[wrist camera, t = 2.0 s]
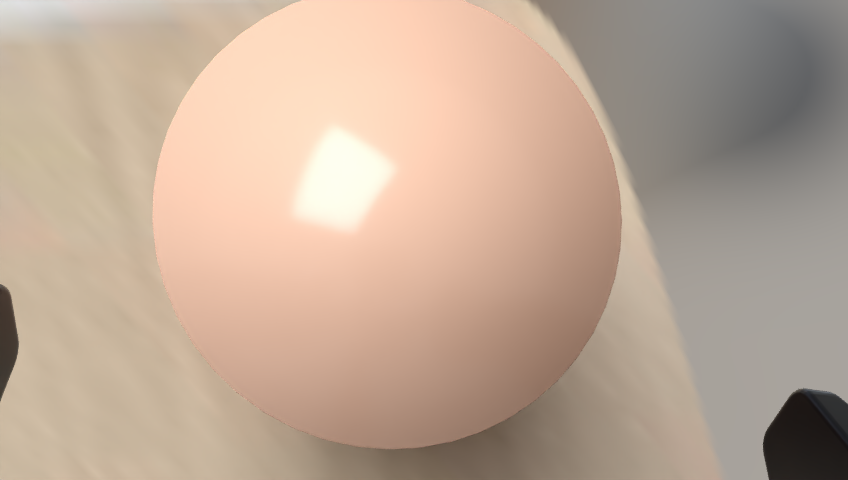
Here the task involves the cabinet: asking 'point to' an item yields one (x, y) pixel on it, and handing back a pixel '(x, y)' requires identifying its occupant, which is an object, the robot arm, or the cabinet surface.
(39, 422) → the cabinet surface
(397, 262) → the peach rounded peg
